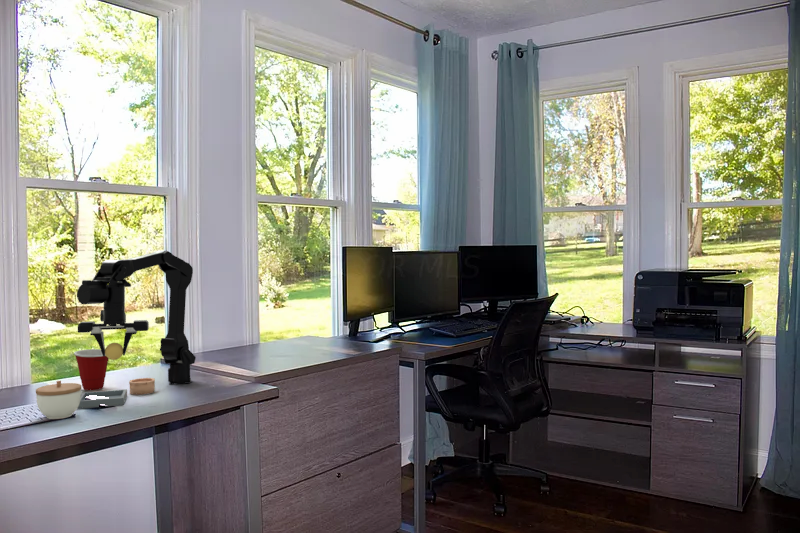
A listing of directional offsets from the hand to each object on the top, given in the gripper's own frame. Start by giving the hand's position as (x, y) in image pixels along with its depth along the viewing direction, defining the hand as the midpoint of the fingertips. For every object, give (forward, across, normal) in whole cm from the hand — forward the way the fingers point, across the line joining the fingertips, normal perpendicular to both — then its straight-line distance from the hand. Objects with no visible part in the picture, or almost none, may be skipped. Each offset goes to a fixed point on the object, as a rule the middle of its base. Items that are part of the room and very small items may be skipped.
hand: (114, 355), depth 189 cm
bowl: (+12, -7, -7) cm, 16 cm away
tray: (+13, +3, +3) cm, 13 cm away
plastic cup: (+13, +8, -18) cm, 24 cm away
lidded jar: (+14, +12, +16) cm, 24 cm away
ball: (+1, 0, 0) cm, 1 cm away
